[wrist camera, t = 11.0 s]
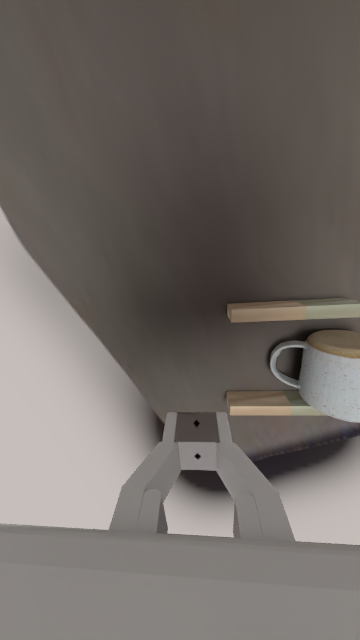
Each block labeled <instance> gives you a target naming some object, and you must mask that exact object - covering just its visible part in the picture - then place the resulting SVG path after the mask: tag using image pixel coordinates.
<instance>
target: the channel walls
mask: <svg viewBox="0 0 360 640" xmlns="http://www.w3.org/2000/svg"><path fill="white" fill-rule="evenodd" d="M227 316H228V318H229V319H230V321H231V323H235V322H258V321H281V320H304V319H327V318H350V317H360V301H356V300H352V299H348V298H328V299H309V300H290V301H271V302H252V303H233V304H227ZM226 400H227V404H228V408H229V413H230V415H326V414H324V413H322V412H320V411H318V410H316V409H315V408H313V407H312V406H310V405H309V404H308V403H306V402H305V401H304V400H303V398H302V397H301V395H300V393H299V391H227V395H226Z"/></svg>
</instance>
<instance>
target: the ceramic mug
mask: <svg viewBox="0 0 360 640" xmlns="http://www.w3.org/2000/svg"><path fill="white" fill-rule="evenodd" d="M289 347H299V348H304V349H303V357H302V366H301V371H300V376H299V380H295V379H292V378H289V377H287V376H285V375H283V374H282V373H280V372H279V371H278V370H277V369H276V366H275V365H276V359H277V356H278V355H279V354H280V352H281V350H282V349H285V348H289ZM270 368H271V371H272V372H273V374H274V375H275V376H276V377H277V378H278V379H279V380H281V381H282V382H284V383H286V384H288V385H291V386H293V387H296V388H298V390H299V393H300V395H301V397H302V398H303V400H304V401H305V402H306V403H308V404H309V405H310V406H312V407H313V408H315V409H316V410H318V411H320V412H322V413H324V414H326V415H329V416H331V417H334V418H337V419H341V420H345V421H349V422H359V423H360V333H359V332H354V331H347V330H322V331H317V332H314V333H312V334H311V335H309V336H308V338H307V340H306V341H305V342H303V341H287V342H283V343H281V344H279V345H277V346H276V347H275V348H274V350H273V351H272V353H271V357H270Z"/></svg>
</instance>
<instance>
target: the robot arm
mask: <svg viewBox="0 0 360 640" xmlns="http://www.w3.org/2000/svg"><path fill="white" fill-rule="evenodd" d="M198 469H199V470H213V471H217V473H218V474H219V476H220V478H221V479H222V481H223V483H224V484H225V486H226V488H227V489H228V491H229V493H230V495H231V496H232V498H233V500H234V503H235V504H234V524H233V534H234V538H231V537H213V536H198V535H181V534H167V530H168V527H167V522H166V516H165V511H164V505H163V502H164V500H165V499H166V497H167V495H168V493H169V491H170V489H171V488H172V486H173V484H174V482H175V480H176V479H177V477H178V475H179V473H180V471H181V470H198ZM0 640H360V545H346V544H330V543H328V544H327V543H314V542H296V541H295V539H294V536H293V533H292V530H291V527H290V524H289V521H288V518H287V516H286V513H285V510H284V507H283V504H282V501H281V498H280V495H279V493H278V492H277V490H276V489H275V488H274V487H273V486H272V485H271V483H270V482H269V481H268V480H267V479H266V478H265V477H264V476H263V474H262V473H261V472H260V471H259V470H258V469H257V467H256V466H255V465H254V464H253V463H252V461H251V460H250V459H249V458H248V457H247V456H246V455H245V453H244V452H243V451H242V450H241V449H240V448H239V446H238V445H237V444H236V443H232V438H231V433H230V428H229V423H228V418H227V413H226V412H196V413H192V412H168V413H167V416H166V422H165V428H164V434H163V440H162V442H159V443H158V444H157V446H156V447H155V448H154V449H153V450H152V452H151V453H150V454H149V455H148V456H147V458H146V459H145V460H144V461H143V462H142V464H141V465H140V466H139V467H138V468H137V469H136V471H135V472H134V473H133V474H132V475H131V477H130V478H129V479H128V480H127V481H126V483H125V484H124V485H123V486H122V489H121V492H120V495H119V498H118V502H117V505H116V508H115V511H114V515H113V518H112V521H111V524H110V528H109V530H98V529H82V528H81V529H80V528H65V527H48V526H32V525H15V524H0Z"/></svg>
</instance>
